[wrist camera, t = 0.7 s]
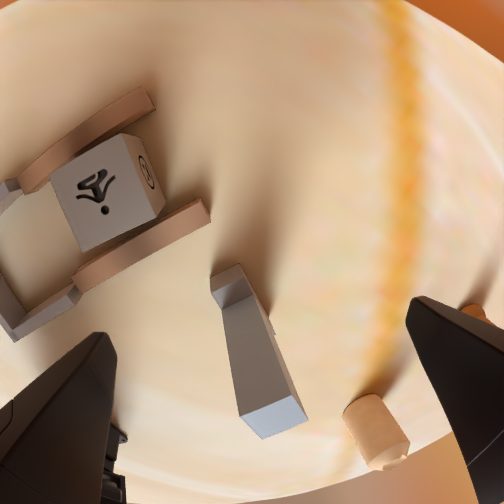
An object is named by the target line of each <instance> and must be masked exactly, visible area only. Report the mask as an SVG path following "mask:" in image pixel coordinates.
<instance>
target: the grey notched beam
mask: <svg viewBox="0 0 504 504" xmlns="http://www.w3.org/2000/svg"><path fill="white" fill-rule="evenodd" d="M210 288H211V294H212V296H213V297H214V299H215V300H216V302H217V304H218V305H219V307H220V308H221V310H222V317H223V323H224V330H225V336H226V342H227V348H228V354H229V360H230V366H231V372H232V378H233V384H234V389H235V395H236V400H237V406H238V411H239V416H240V418H241V419H242V420H243V421H244V422H245V423H246V424H247V425H248V426H249V427H250V428H251V429H252V430H253V431H254V432H255V433H256V434H257V435H258V436H259V437H260V438H261V439H265V438H267V437H270V436H273V435H275V434H278V433H280V432H283V431H285V430H287V429H290V428H292V427H294V426H297V425H299V424H301V423H304V422H306V421H308V418H307V415H306V413H305V411H304V408H303V406H302V403H301V401H300V399H299V396H298V394H297V391H296V389H295V386H294V384H293V381H292V379H291V377H290V374H289V372H288V369H287V367H286V364H285V362H284V359H283V357H282V354H281V352H280V350H279V347H278V345H277V342H276V340H275V337H274V335H276V334H275V332H274V330H273V327H272V325H271V322H270V320H269V317H268V316H267V314H266V312H265V310H264V308H263V306H262V305H261V303H260V301H259V299H258V297H257V295H256V293H255V292H254V290H253V288H252V286H251V284H250V282H249V280H248V279H247V277H246V275H245V273H244V271H243V269H242V267H241V266H240V264H239V263H238V264H236V265H234V266H232V267H230V268H228V269H226V270H224V271H222V272H220V273H218V274H216V275H214V276H212V277H210Z"/></svg>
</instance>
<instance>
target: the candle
mask: <svg viewBox="0 0 504 504" xmlns="http://www.w3.org/2000/svg"><path fill="white" fill-rule="evenodd" d="M343 420H344V422H345V424H346V426H347V428H348V430H349V432H350V434H351V435H352V437H353V439H354V441H355V443H356V445H357V447H358V449H359V451H360V453H361V455H362V456H363V458H364V460H365V462H366V464H367V466H368V468H370V469H375V470H383V471H389V470H391V469H392V468H394V467H396V466H397V465H399V464H400V462H401V461H402V460H403V459H406V458H407V453H408V449H409V446H410V441H409V440H408V438H407V437H406V435H405V434H404V432H403V431H402V429H401V428H400V426H399V425H398V423H397V422H396V420H395V419H394V417H393V416H392V414H391V413H390V411H389V410H388V409H387V407H386V406H385V404H384V403H383V401H382V400H381V398H380V397H379V396H378V395H376V394H369V395H365V396H363V397H361V398H359V399H357V400H355V401H354V402H353V403H351V404H350V405H349V406H348V407H347V408H346V409H345V411H344V413H343Z"/></svg>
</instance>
